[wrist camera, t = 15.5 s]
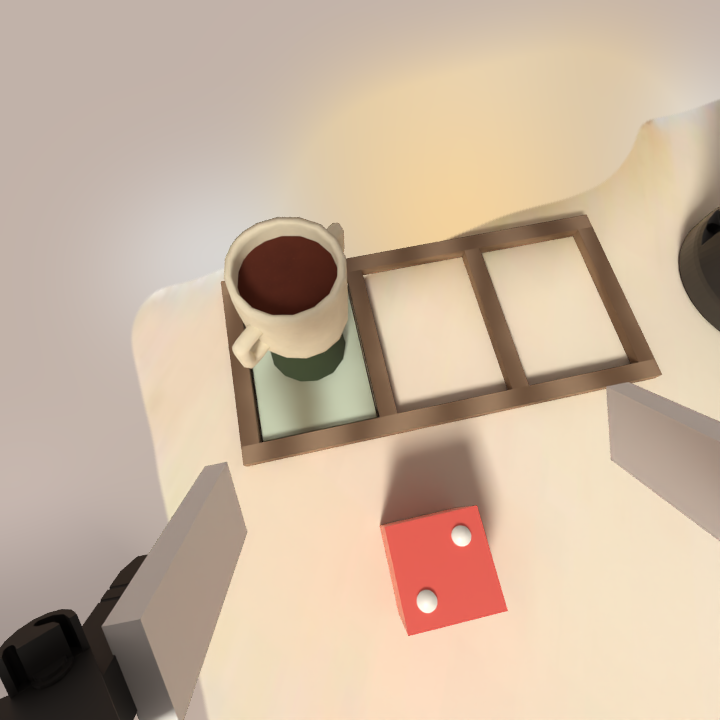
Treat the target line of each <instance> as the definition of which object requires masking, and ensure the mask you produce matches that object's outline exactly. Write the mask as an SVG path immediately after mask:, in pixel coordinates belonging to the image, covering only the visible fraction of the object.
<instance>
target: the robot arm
mask: <svg viewBox="0 0 720 720" xmlns="http://www.w3.org/2000/svg"><path fill="white" fill-rule="evenodd" d="M679 264H680V273H681V278H682V281H683V284H684V287H685V289H686V291H687V293H688V295H689V297H690V299H691V301H692V302H693V304H694V305H695V307H696V308H697V309H698V311H699V312H700V313H701V314H702V315H703V316H704V317H705V318H706V320H707V321H708V322H710V323H711V324H712V325H713V326H714V327H715V328H716V329H718V330H719V331H720V207H718V208H717V209H715V210H714V211H712V212H711V213H710V214H709V215H708V216H706V217H705V218H704V219H703V220H702V221H701V222H699V223H698V224H697V225H696V226H695V227H694V228H693V229H692V230H691V231H690V232H689V234H688V235H687V237H686V238H685V240H684V242H683V245H682V248H681V252H680V261H679ZM606 390H607V406H608V422H609V438H610V453H611V460H612V461H613V462H615V463H616V464H617V465H619V466H620V467H621V468H623V469H624V470H625V471H627V472H628V473H629V474H631V475H632V476H633V477H635V478H636V479H637V480H639V481H640V482H641V483H643V484H644V485H645V486H647V487H648V488H649V489H651V490H652V491H653V492H655V493H656V494H657V495H659V496H660V497H661V498H663V499H664V500H665V501H667V502H668V503H669V504H671V505H672V506H673V507H675V508H676V509H677V510H679V511H680V512H681V513H683V514H684V515H685V516H687V517H688V518H689V519H691V520H692V521H693V522H695V523H696V524H697V525H699V526H700V527H701V528H703V529H704V530H705V531H707V532H708V533H709V534H711V535H712V536H713V537H715V538H716V539H717V540H719V541H720V422H719V421H717V420H715V419H712V418H710V417H708V416H705V415H703V414H701V413H698V412H696V411H694V410H691V409H689V408H687V407H685V406H682V405H680V404H678V403H675V402H673V401H671V400H668V399H666V398H664V397H662V396H659V395H657V394H655V393H652V392H650V391H648V390H645V389H643V388H641V387H639V386H636V385H634V384H632V383H629V382H626V383H621V384H616V385H611V386H606ZM246 534H247V529H246V526H245V522H244V519H243V515H242V512H241V508H240V505H239V502H238V498H237V495H236V491H235V488H234V484H233V481H232V477H231V474H230V471H229V467H228V464H227V462H225V463H220V464H215V465H210V466H205V467H204V469H203V470H202V472H201V473H200V475H199V476H198V478H197V479H196V481H195V483H194V484H193V486H192V487H191V489H190V490H189V492H188V493H187V495H186V497H185V498H184V500H183V501H182V503H181V504H180V506H179V507H178V509H177V510H176V512H175V514H174V515H173V517H172V518H171V520H170V521H169V523H168V524H167V526H166V527H165V529H164V531H163V532H162V534H161V535H160V537H159V538H158V540H157V541H156V543H155V545H154V546H153V548H152V549H151V551H150V552H149V554H148V555H143V556H138V557H136V558H135V559H134V560H133V561H132V562H131V563H130V564H128V565H127V566H126V567H125V568H124V569H123V570H122V571H120V573H119V574H118V576H117V577H116V579H115V580H114V581H113V583H112V584H111V586H110V590H107V591H106V593H105V594H104V596H103V597H102V599H101V603H98V604H97V606H96V607H95V609H94V610H93V612H92V613H91V615H90V616H89V617H88V619H87V620H86V622H85V623H84V624H83V626H81V624H80V621H79V619H78V616H77V614H76V613H75V612H74V611H72V610H68V609H61V610H57V611H53V612H50V613H47V614H45V615H43V616H41V617H38V618H36V619H34V620H32V621H31V622H29V623H28V624H26V625H25V626H23V627H22V628H20V629H19V630H17V631H16V632H15V633H14V634H13V635H12V636H11V637H9V638H8V639H7V640H6V641H5V642H4V643H3V645H2V646H1V647H0V678H1V680H2V682H3V684H4V686H5V688H6V691H7V692H8V696H6V697H4V698H1V699H0V720H133V719H134V717H135V715H136V714H137V716H138V719H139V720H184V718H185V715H186V712H187V709H188V706H189V703H190V700H191V697H192V694H193V691H194V689H195V685H196V683H197V680H198V677H199V674H200V671H201V668H202V665H203V662H204V659H205V656H206V653H207V650H208V647H209V644H210V641H211V638H212V635H213V632H214V629H215V626H216V623H217V620H218V617H219V615H220V612H221V609H222V606H223V603H224V600H225V597H226V594H227V591H228V588H229V585H230V582H231V579H232V576H233V573H234V570H235V567H236V564H237V561H238V558H239V555H240V552H241V549H242V546H243V543H244V540H245V537H246Z"/></svg>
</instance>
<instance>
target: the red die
mask: <svg viewBox="0 0 720 720" xmlns="http://www.w3.org/2000/svg"><path fill="white" fill-rule="evenodd" d="M380 529H381V533H382V538H383V542H384V547H385V552H386V556H387V561H388V565H389V570H390V575H391V579H392V584H393V589H394V593H395V598H396V602H397V607H398V612H399V615H400V618H401V620H402V622H403V625H404V627H405V629H406V632H407V634H408V636H410V635H414V634H418V633H422V632H426V631H430V630H434V629H438V628H442V627H446V626H450V625H454V624H458V623H462V622H466V621H470V620H474V619H477V618H481V617H485V616H489V615H493V614H497V613H501V612H505V611H508V610H507V607H506V603H505V600H504V596H503V593H502V590H501V586H500V583H499V579H498V576H497V572H496V569H495V566H494V562H493V559H492V555H491V552H490V548H489V545H488V541H487V538H486V535H485V531H484V528H483V524H482V521H481V517H480V514H479V511H478V507H477V505H476V506H466V507H457V508H453V509H448V510H444V511H440V512H435V513H431V514H427V515H423V516H418V517H414V518H410V519H405V520H401V521H397V522H392V523H388V524H384V525H380Z"/></svg>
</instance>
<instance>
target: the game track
mask: <svg viewBox="0 0 720 720" xmlns="http://www.w3.org/2000/svg"><path fill="white" fill-rule="evenodd" d="M570 236H573V237H574V239H575V241H576V243H577V246H578V248H579V250H580V252H581V254H582V257H583V259H584V261H585V263H586V266H587V268H588V270H589V272H590V274H591V277H592V279H593V281H594V283H595V286H596V288H597V290H598V292H599V294H600V297H601V299H602V301H603V303H604V305H605V308H606V310H607V312H608V314H609V317H610V319H611V321H612V323H613V325H614V328H615V330H616V332H617V334H618V336H619V339H620V341H621V343H622V345H623V348H624V350H625V352H626V354H627V356H628V359H629V361H630V363H631V364H628V365H624V366H619V367H614V368H610V369H605V370H600V371H595V372H591V373H586V374H581V375H577V376H572V377H567V378H563V379H558V380H553V381H548V382H544V383H539V384H534V385H530V386H529V384H528V381H527V378H526V376H525V373H524V370H523V367H522V365H521V362H520V359H519V356H518V353H517V351H516V348H515V345H514V342H513V340H512V337H511V334H510V331H509V329H508V326H507V323H506V320H505V318H504V315H503V312H502V309H501V306H500V304H499V301H498V298H497V295H496V293H495V290H494V287H493V284H492V282H491V279H490V276H489V273H488V270H487V268H486V265H485V262H484V259H483V257H482V254H481V253H484V252H490V251H495V250H500V249H506V248H511V247H516V246H522V245H527V244H533V243H538V242H543V241H549V240H554V239H559V238H565V237H570ZM458 257H462V258H463V261H464V264H465V267H466V269H467V272H468V275H469V278H470V281H471V284H472V287H473V290H474V293H475V296H476V299H477V301H478V304H479V307H480V310H481V313H482V316H483V319H484V322H485V325H486V328H487V331H488V334H489V336H490V339H491V342H492V345H493V348H494V351H495V354H496V357H497V360H498V363H499V366H500V369H501V371H502V374H503V377H504V380H505V383H506V386H507V389H508V390H506V391H501V392H497V393H492V394H487V395H483V396H478V397H473V398H469V399H464V400H459V401H454V402H450V403H445V404H440V405H436V406H431V407H426V408H422V409H417V410H412V411H407V412H403V413H398V414H397V410H396V406H395V402H394V398H393V394H392V390H391V386H390V382H389V378H388V374H387V370H386V366H385V362H384V358H383V354H382V350H381V346H380V342H379V338H378V334H377V330H376V326H375V322H374V318H373V314H372V310H371V306H370V302H369V298H368V294H367V290H366V286H365V282H364V278H363V275H367V274H372V273H377V272H383V271H388V270H393V269H399V268H404V267H409V266H415V265H420V264H425V263H431V262H436V261H442V260H447V259H452V258H458ZM346 266H347V283H348V287H349V291H350V296H351V300H352V304H353V308H354V313H355V317H356V321H357V325H358V330H359V334H360V338H361V342H362V347H363V351H364V355H365V360H366V364H367V368H368V372H369V377H370V381H371V385H372V389H373V394H374V398H375V402H376V406H377V411H378V415H379V418H377V415H376V411H375V407H374V402H373V398H372V394H371V389H370V385H369V381H368V377H367V372H366V368H365V364H364V359H363V355H362V351H361V347H360V342H359V338H358V334H357V329H356V325H355V321H354V316H353V312H352V308H351V304H350V299H349V295H348V320H347V323H346V325H345V328H344V330H343V332H342V333H343V336H344V340H345V350H344V357H343V360H342V361H341V363H340V364H339V366H338V367H337V368H336V370H335V371H334V373H332V374H330V375H328V376H326V377H324V378H322V379H320V380H318V381H302V382H301V381H298V380H295V379H292V378H290V377H287V376H285V375H284V374H283V373H282V372H281V371H280V370H279V369H278V368H277V367H276V366H275V365H274V363H273V359H272V356H271V352H270V351H267V353H266V354H265V355H264V356H263V358H262V359H261V360H260V362H259V363H258V364H256V365H255V366H254V367H253V373H254V380H255V387H256V394H257V401H258V409H259V416H260V423H261V430H262V437H263V442H261V435H260V427H259V420H258V413H257V406H256V399H255V392H254V384H253V377H252V370H251V368H246V367H243V365H242V364H241V363H240V361H239V360H238V359H237V357H236V356H235V354H234V353H233V351H232V346H233V344H234V343H235V341H236V340H237V338H238V337H239V336H240V335H241V333H242V332H243V331H244V330H245V329H246V327H245V324H244V323H243V321H242V319H241V317H240V316H239V314H238V312H237V310H236V309H235V306H234V304H233V302H232V300H231V297H230V294H229V291H228V289H227V286H226V283H225V281H221V287H222V295H223V303H224V311H225V319H226V328H227V336H228V344H229V352H230V360H231V368H232V376H233V384H234V392H235V400H236V409H237V417H238V425H239V433H240V441H241V449H242V457H243V465H245V466H251V465H256V464H260V463H265V462H270V461H274V460H279V459H283V458H288V457H293V456H297V455H302V454H307V453H311V452H316V451H320V450H325V449H330V448H334V447H339V446H344V445H348V444H353V443H357V442H362V441H367V440H371V439H376V438H381V437H385V436H390V435H394V434H399V433H404V432H408V431H413V430H417V429H422V428H427V427H431V426H436V425H441V424H445V423H450V422H454V421H459V420H464V419H468V418H473V417H478V416H482V415H487V414H491V413H496V412H501V411H505V410H510V409H515V408H519V407H524V406H528V405H533V404H538V403H542V402H547V401H552V400H556V399H561V398H565V397H570V396H575V395H579V394H584V393H589V392H593V391H598V390H602V389H606V386H611V385H616V384H621V383H626V382H629V383H635V382H639V381H644V380H649V379H653V378H656V377H658V376H660V375H662V373H661V371H660V369H659V367H658V365H657V363H656V361H655V359H654V356H653V354H652V352H651V350H650V348H649V346H648V344H647V342H646V340H645V337H644V335H643V333H642V331H641V329H640V327H639V325H638V323H637V320H636V318H635V316H634V314H633V312H632V310H631V308H630V306H629V304H628V301H627V299H626V297H625V295H624V293H623V291H622V289H621V287H620V285H619V282H618V280H617V278H616V276H615V274H614V272H613V270H612V268H611V265H610V263H609V261H608V259H607V257H606V255H605V253H604V251H603V249H602V246H601V244H600V242H599V240H598V238H597V236H596V234H595V232H594V229H593V227H592V225H591V223H590V221H589V219H588V217H587V215H582V216H576V217H571V218H565V219H560V220H554V221H549V222H543V223H538V224H533V225H527V226H522V227H516V228H511V229H505V230H500V231H494V232H489V233H483V234H478V235H472V236H467V237H462V238H456V239H451V240H445V241H440V242H435V243H429V244H423V245H418V246H413V247H407V248H402V249H396V250H391V251H385V252H380V253H374V254H369V255H363V256H358V257H353V258H347V259H346Z"/></svg>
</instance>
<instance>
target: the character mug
mask: <svg viewBox="0 0 720 720" xmlns="http://www.w3.org/2000/svg"><path fill="white" fill-rule="evenodd" d="M343 252H344V231H343V229H342V227H341V226H340V224H339V223H332V224H331V225H330V226H329V227H328V229H325V228H324V227H323V226H322V225H321V224H318V223H315V222H312V221H308V220H306V219H303V218H299V217H276V218H273V219H269V220H266V221H262V222H259V223H256V224H255V225H253V226H251V227H250V228H248V229H247V230H245V231H244V232H242V233H241V234H240V235H239V236H238V237H237V238H236V239H235V241H234V242H233V243H232V245H231V246H230V249H229V251H228V253H227V255H226V258H225V267H224V280H225V283H226V286H227V289H228V291H229V294H230V297H231V300H232V302H233V304H234V306H235V309H236V310H237V312H238V314H239V316H240V317H241V319H242V321H243V323H244V324H245V326H246V329H245V330H244V331H243V332H242V333H241V335H240V336H239V337H238V338H237V340H236V341H235V343H234V344H233V346H232V351H233V353H234V354H235V356H236V357H237V359H238V360H239V361H240V363H241V364H242V365H243V367H246V368H253V367H254V366H255V365H256V364H258V363H259V362H260V360H261V359H262V358H263V356H264V355H265V354H266V353H267V351H270V352H271V356H272V359H273V363H274V365H275V366H276V367H277V368H278V369H279V370H280V371H281V372H282V373H283V374H284V375H285V376H287V377H290V378H292V379H295V380H298V381H301V382H302V381H318V380H320V379H322V378H324V377H326V376H328V375H330V374H332V373H334V371H335V370H336V368H337V367H338V366H339V364H340V363H341V361H342V360H343V357H344V350H345V340H344V336H343V333H342V332H343V330H344V328H345V325H346V323H347V320H348V289H347V266H346V258H345V255H344V253H343Z"/></svg>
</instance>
